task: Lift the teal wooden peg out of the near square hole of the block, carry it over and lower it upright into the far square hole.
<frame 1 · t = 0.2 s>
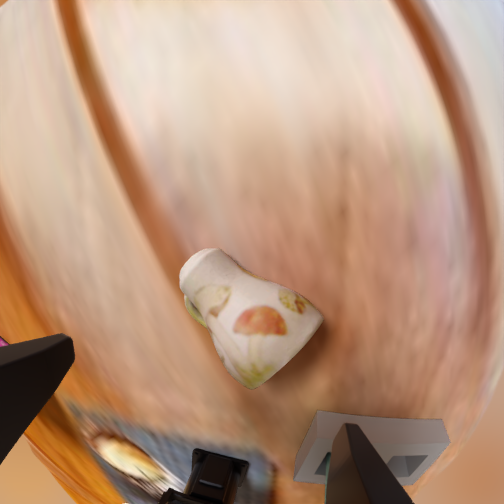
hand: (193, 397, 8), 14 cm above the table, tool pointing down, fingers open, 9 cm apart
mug: (247, 296, 23), on the table
block: (369, 442, 25), on the table
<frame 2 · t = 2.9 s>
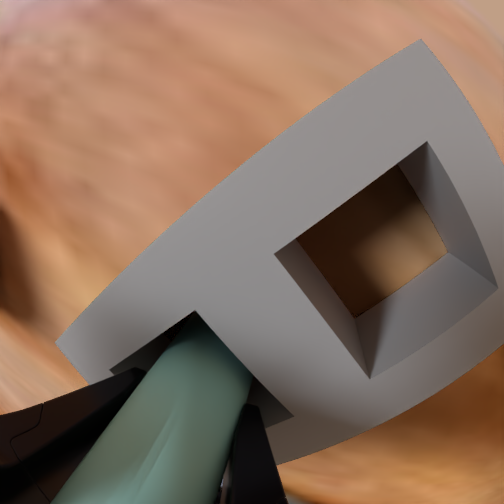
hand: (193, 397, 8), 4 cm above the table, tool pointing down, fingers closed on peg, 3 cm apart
peg: (223, 337, 11), resting in block, touching gripper
block: (293, 293, 10), on the table
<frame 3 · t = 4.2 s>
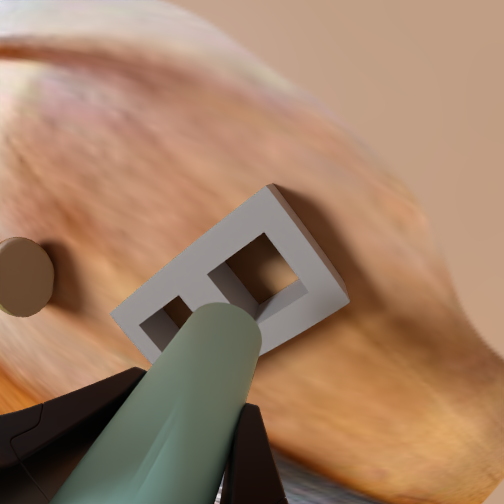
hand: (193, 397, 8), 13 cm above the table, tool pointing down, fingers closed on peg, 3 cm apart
peg: (223, 337, 11), point 10 cm above the table, touching gripper
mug: (31, 268, 25), on the table
block: (227, 290, 22), on the table
when the fingers open (5 cm above the table, at t = 5.8 s): peg stays where it is, resting in block.
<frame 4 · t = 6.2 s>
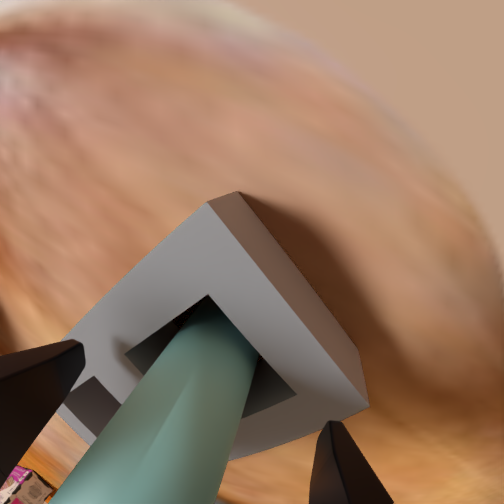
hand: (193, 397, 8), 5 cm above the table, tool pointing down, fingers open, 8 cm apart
peg: (229, 324, 12), resting in block
candy bar box: (31, 474, 28), on the table
block: (178, 357, 13), on the table
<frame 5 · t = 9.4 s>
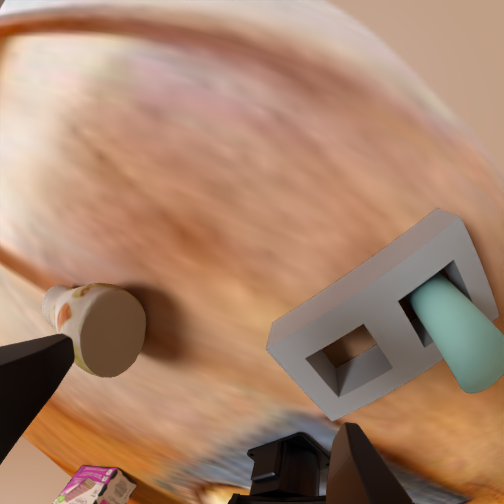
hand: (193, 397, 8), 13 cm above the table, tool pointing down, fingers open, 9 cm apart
peg: (421, 284, 19), resting in block
candy bar box: (107, 473, 35), on the table
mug: (103, 308, 24), on the table
block: (384, 311, 20), on the table
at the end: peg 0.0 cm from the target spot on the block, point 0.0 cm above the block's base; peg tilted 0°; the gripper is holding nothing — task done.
